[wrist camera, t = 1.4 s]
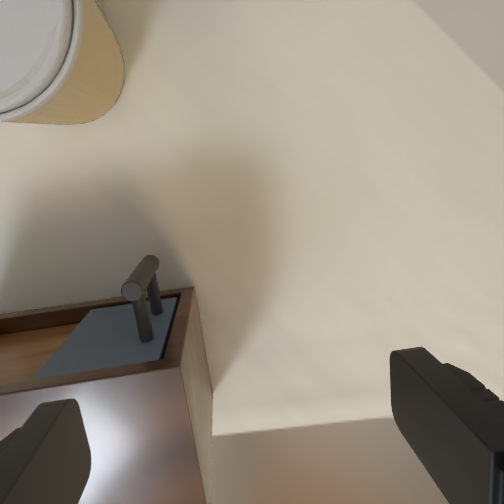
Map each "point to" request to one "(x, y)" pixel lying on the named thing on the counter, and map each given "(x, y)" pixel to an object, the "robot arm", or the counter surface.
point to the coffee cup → (57, 62)
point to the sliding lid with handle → (119, 329)
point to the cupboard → (121, 404)
